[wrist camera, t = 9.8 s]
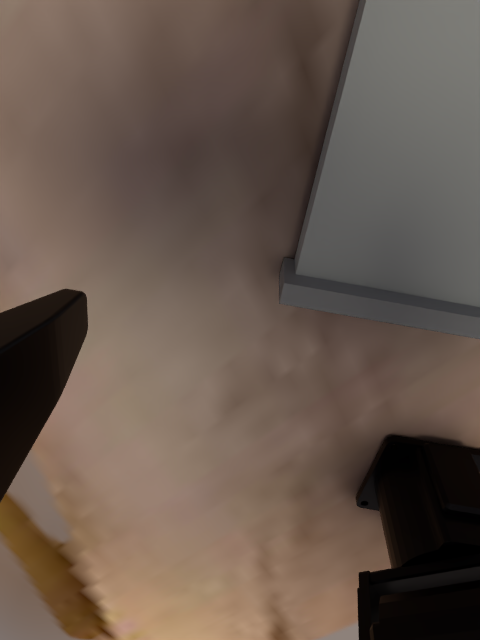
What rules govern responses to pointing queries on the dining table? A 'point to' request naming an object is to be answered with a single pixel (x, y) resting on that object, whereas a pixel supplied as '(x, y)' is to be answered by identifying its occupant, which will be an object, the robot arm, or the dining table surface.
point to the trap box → (399, 175)
